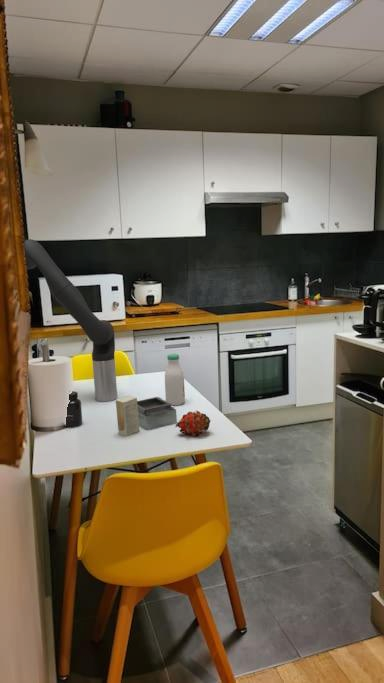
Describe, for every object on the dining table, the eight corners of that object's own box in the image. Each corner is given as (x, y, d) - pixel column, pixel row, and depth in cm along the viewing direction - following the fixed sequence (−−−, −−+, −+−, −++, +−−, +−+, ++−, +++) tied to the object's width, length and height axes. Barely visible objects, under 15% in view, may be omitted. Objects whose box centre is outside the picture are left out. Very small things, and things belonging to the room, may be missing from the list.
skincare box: (132, 428, 176) (130, 395, 173) (140, 431, 173) (137, 397, 170) (117, 433, 171) (114, 399, 169) (125, 436, 168) (122, 402, 166)
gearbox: (127, 417, 187) (126, 401, 186) (156, 411, 193) (155, 395, 192) (146, 430, 173) (145, 412, 172) (176, 422, 179) (175, 405, 178)
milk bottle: (182, 406, 197) (180, 357, 194) (163, 405, 199) (161, 357, 195) (186, 400, 205) (184, 352, 201) (168, 399, 206) (166, 352, 203)
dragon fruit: (214, 437, 168) (179, 445, 168) (208, 417, 174) (175, 424, 173) (212, 423, 162) (176, 431, 161) (207, 402, 168) (172, 410, 167)
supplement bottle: (66, 429, 178) (63, 396, 175) (61, 423, 184) (58, 392, 181) (84, 425, 181) (82, 393, 178) (79, 420, 187) (77, 389, 184)
